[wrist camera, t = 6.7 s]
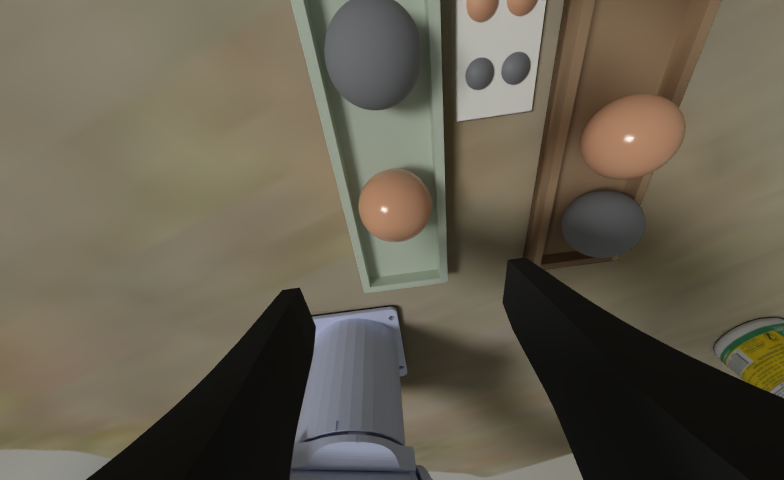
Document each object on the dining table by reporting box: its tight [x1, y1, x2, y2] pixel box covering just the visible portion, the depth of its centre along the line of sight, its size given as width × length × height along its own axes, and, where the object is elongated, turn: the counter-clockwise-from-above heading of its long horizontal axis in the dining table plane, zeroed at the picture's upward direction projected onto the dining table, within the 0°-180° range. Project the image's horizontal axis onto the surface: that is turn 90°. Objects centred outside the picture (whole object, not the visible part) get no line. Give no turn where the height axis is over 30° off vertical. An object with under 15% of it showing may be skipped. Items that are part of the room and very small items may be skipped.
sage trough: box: [291, 0, 546, 293], centre depth 16 cm, size 18×11×2 cm, turn 7°
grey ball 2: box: [561, 190, 645, 258], centre depth 17 cm, size 4×4×4 cm
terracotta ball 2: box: [580, 94, 685, 180], centre depth 14 cm, size 4×4×4 cm
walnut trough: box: [523, 0, 721, 270], centre depth 16 cm, size 18×6×2 cm, turn 7°
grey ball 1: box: [324, 0, 422, 111], centre depth 12 cm, size 4×4×4 cm
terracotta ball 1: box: [359, 169, 432, 242], centre depth 16 cm, size 4×4×4 cm
